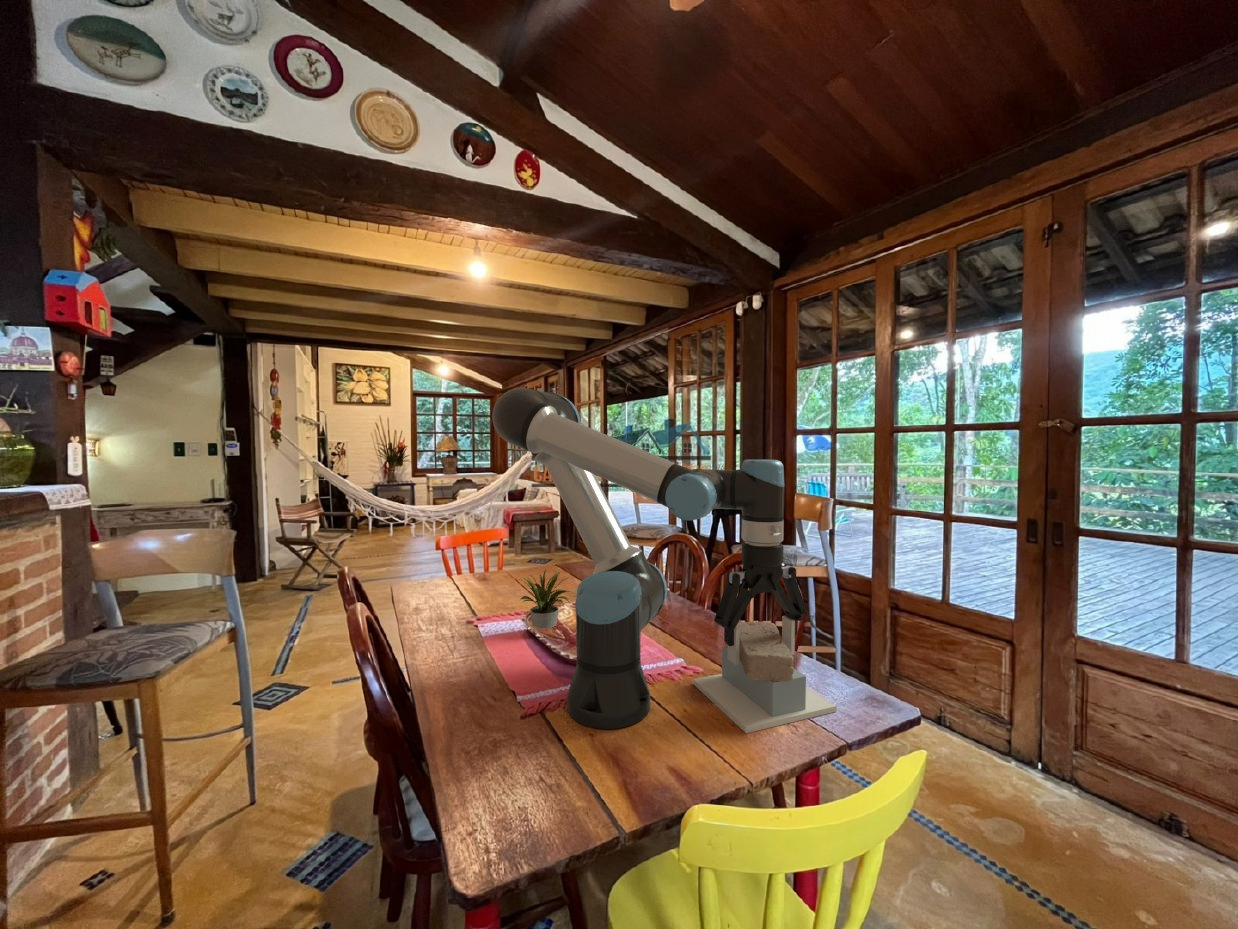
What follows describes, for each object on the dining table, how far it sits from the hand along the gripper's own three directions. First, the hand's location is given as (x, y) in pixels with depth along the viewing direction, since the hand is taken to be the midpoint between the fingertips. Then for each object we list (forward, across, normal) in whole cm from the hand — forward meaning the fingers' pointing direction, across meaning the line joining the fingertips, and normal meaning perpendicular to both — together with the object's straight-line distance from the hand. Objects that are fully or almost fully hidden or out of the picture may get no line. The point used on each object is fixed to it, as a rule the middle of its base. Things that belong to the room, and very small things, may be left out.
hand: (761, 656), depth 94 cm
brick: (+1, 0, 0) cm, 1 cm away
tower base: (+8, 0, 0) cm, 8 cm away
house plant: (+8, -33, +45) cm, 56 cm away
